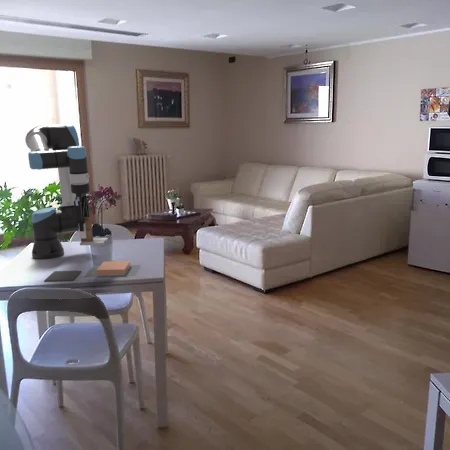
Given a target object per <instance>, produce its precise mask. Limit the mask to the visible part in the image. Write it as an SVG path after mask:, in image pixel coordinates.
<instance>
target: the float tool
mask: <svg viewBox="0 0 450 450" xmlns="http://www.w3.org/2000/svg"><path fill="white" fill-rule="evenodd" d="M84 223H85V225H86V236H87V238H80V242H79V245H80V246H104V245H105V244H106V243H107V241H108V240H109V237H94V234H93V225H92V223H93V222H92V217H91V216H90V217H84Z"/></svg>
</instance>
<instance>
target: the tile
mask: <svg viewBox="0 0 450 450" xmlns="http://www.w3.org/2000/svg"><path fill="white" fill-rule="evenodd" d="M131 265H132V264H131V260H118V261H117V260H114V261H113V260H112V261H103V262H102V263H101V264H100V265H99V266H100V267H99V268H98V269H97V276H102V275H125V274H126V273H127V271H128V269H129V268H130V266H131Z"/></svg>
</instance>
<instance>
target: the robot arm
mask: <svg viewBox="0 0 450 450" xmlns="http://www.w3.org/2000/svg"><path fill="white" fill-rule="evenodd" d="M24 139H25V144H26V147H27V148H28V149H29V150H30V151H29V152H28V154H27V155H28V156H27V157H28V164H29V168H30V170H38V171H39V170H48V169H57V170H58V171H57V172H58V178H59V179H58V180H59V188H60V195H61V204H60V205H59V209H57V208H55V207H45V208H41V209H37V210H35V211H33V212H32V214H31V224H32V225H31V226H32V232H33V233H32V235H33V247H32V249H31V256H32V258H33V259H37V260H48V259H54V258H58V257H61V256H63V255H64V254H65V249H64V247H63V245H62V242H61V240H60V235H59V234H65V233H72V232H79V233H78V235H79V239H81V238H87V236H86V225H85V223H84V217H91V215H90V203H89V198H90V196H89V195H87V194H88V193H90V192H91V191H90V183H89V182H90V181H89V180H90V179H89V178H90V177H91V176H90V175H89V168H88V157H87V156H88V153H87V148H86V147H85V146H83V145H80V141H79V140H80V139H79V135H78V133H77V129H76V127H75V126H74V125H73V124H49V125H48V124H47V125H45V124H41V125H38V126H35V127H34V128H31V129H30V130H29V131H28V132H27V133H26V135H25V138H24Z"/></svg>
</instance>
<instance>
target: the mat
mask: <svg viewBox="0 0 450 450" xmlns="http://www.w3.org/2000/svg"><path fill="white" fill-rule="evenodd" d="M130 265H131V266H130V268H129V269H128V271H127V273H126V274H125V275H102V276H97V269H98V268H99V267H100V265H93V266H92V267H91V268H90V269H89V270H88V271H87V273H85V275H84V276H83V278H100V277H101V278H104V277H109V278H111V277H135V276H136V275H137V273H138V272H139V270H140V268H141V266H142V264H130Z"/></svg>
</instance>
